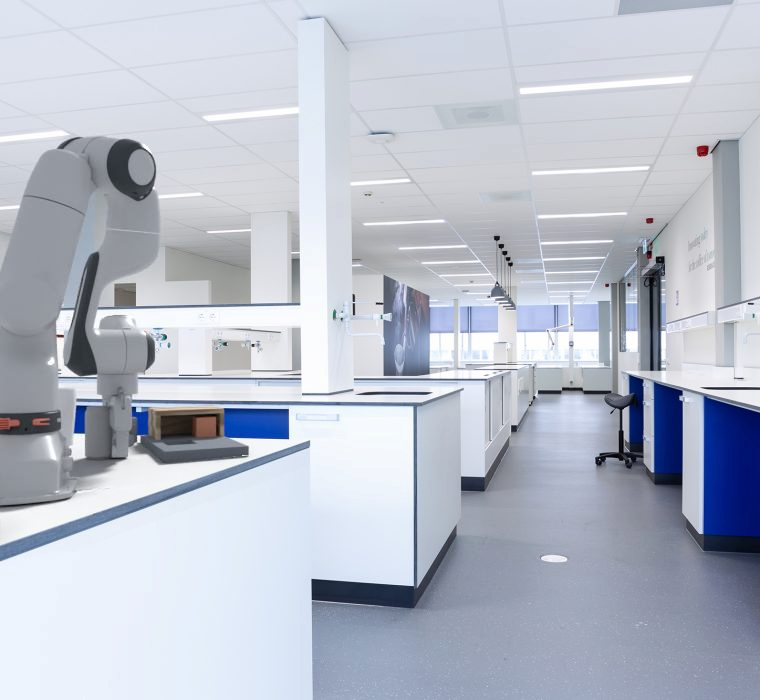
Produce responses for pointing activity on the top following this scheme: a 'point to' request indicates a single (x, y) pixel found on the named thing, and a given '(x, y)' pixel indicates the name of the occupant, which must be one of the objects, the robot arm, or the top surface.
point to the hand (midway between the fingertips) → (117, 447)
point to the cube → (203, 426)
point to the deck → (192, 447)
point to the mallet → (134, 429)
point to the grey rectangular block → (128, 442)
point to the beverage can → (97, 433)
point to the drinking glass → (67, 411)
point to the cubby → (181, 419)
